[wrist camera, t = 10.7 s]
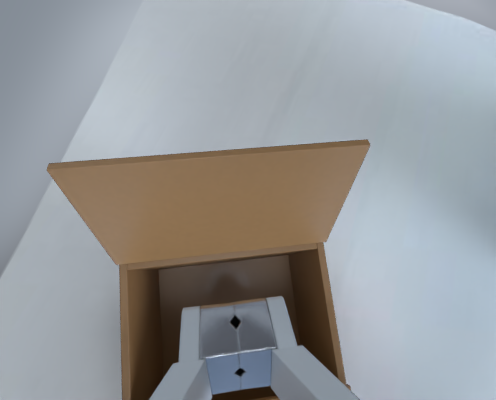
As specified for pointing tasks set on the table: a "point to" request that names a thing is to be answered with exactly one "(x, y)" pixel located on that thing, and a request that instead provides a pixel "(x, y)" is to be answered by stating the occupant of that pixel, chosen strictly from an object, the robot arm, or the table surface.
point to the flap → (212, 198)
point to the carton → (220, 292)
